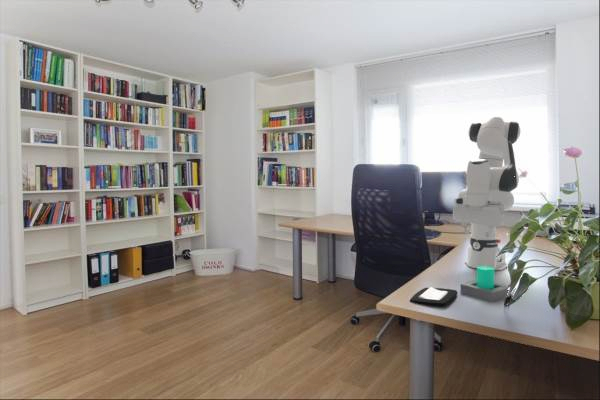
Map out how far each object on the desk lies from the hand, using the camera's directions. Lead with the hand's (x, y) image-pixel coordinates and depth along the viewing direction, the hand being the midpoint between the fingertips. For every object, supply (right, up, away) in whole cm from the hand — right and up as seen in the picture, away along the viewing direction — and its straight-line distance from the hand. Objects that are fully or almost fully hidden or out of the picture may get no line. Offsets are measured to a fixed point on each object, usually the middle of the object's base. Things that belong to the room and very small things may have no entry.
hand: (477, 234), depth 151 cm
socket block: (+1, -23, -4) cm, 23 cm away
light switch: (-20, -24, -9) cm, 32 cm away
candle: (+1, -23, -4) cm, 23 cm away
